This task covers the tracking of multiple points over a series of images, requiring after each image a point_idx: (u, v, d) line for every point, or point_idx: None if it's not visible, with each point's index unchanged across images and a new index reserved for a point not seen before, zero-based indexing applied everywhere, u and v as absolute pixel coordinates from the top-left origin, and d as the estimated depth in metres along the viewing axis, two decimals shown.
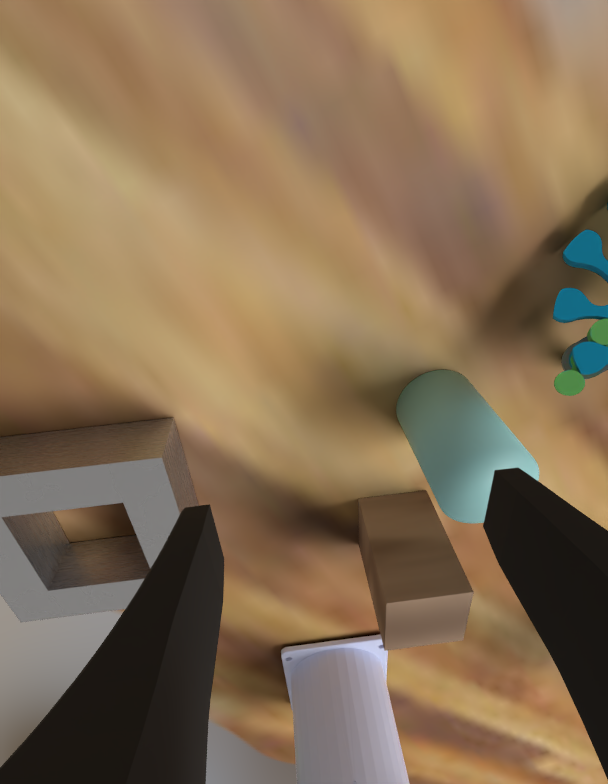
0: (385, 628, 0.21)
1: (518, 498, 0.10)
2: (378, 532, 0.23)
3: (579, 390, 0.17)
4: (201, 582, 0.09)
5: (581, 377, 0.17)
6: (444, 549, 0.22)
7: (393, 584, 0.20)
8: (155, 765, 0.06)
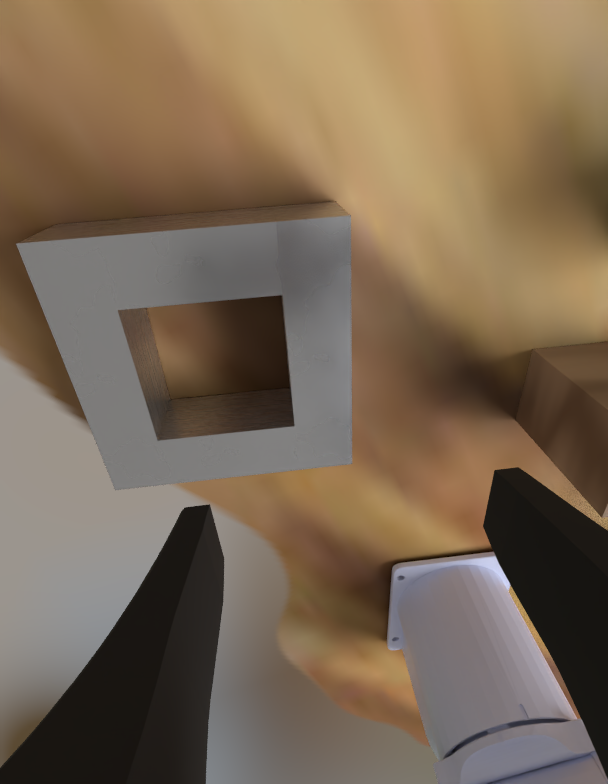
0: None
1: (518, 498, 0.10)
2: (579, 374, 0.18)
3: None
4: (201, 582, 0.09)
5: None
6: None
7: None
8: (155, 764, 0.06)
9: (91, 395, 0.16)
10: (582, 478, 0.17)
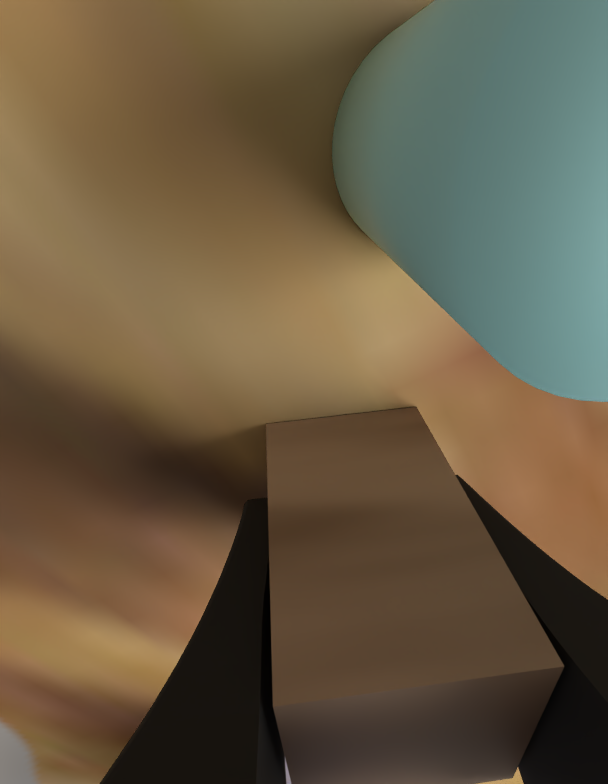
0: (288, 764, 0.07)
1: None
2: (295, 490, 0.09)
3: None
4: None
5: None
6: (462, 531, 0.08)
7: (307, 635, 0.07)
8: (266, 748, 0.06)
9: None
10: None
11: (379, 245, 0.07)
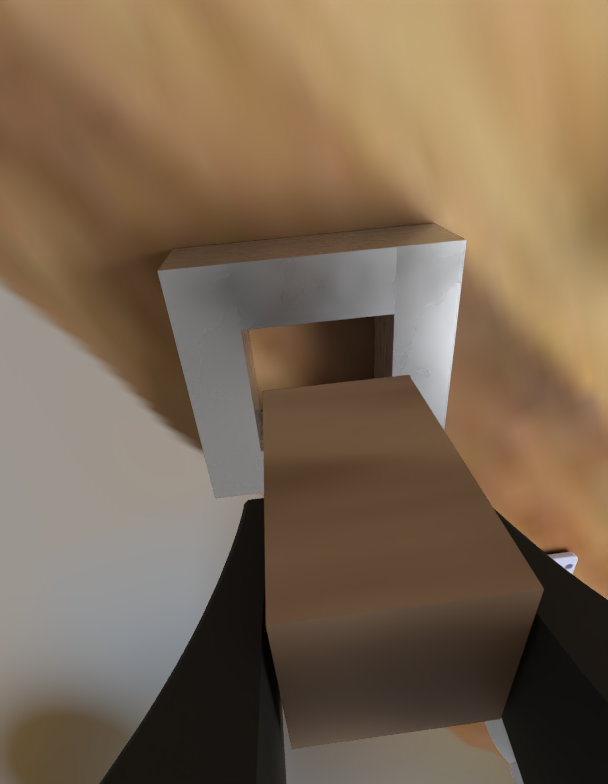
0: (282, 695, 0.07)
1: None
2: (290, 447, 0.09)
3: None
4: None
5: None
6: (450, 478, 0.08)
7: (300, 566, 0.07)
8: (266, 749, 0.06)
9: (205, 409, 0.16)
10: None
11: None
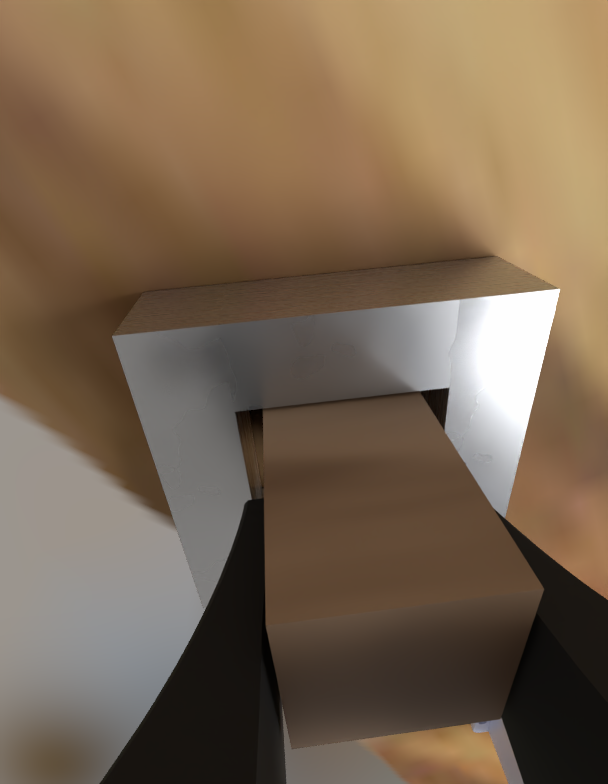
0: (282, 695, 0.07)
1: None
2: (290, 446, 0.09)
3: None
4: None
5: None
6: (450, 478, 0.08)
7: (300, 566, 0.07)
8: (266, 749, 0.06)
9: (188, 508, 0.12)
10: None
11: None
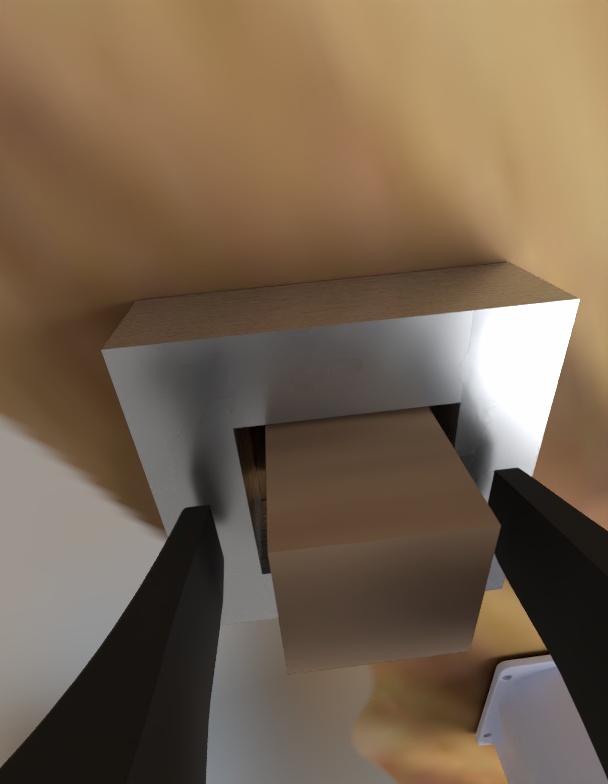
0: (280, 621, 0.08)
1: (518, 498, 0.10)
2: None
3: None
4: (201, 582, 0.09)
5: None
6: (428, 442, 0.09)
7: (296, 509, 0.08)
8: (156, 764, 0.06)
9: None
10: None
11: None
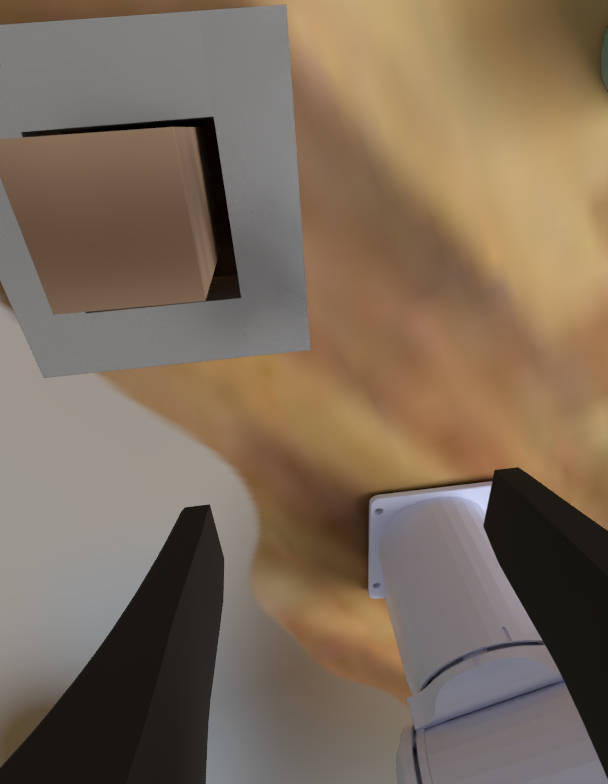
0: (26, 240, 0.10)
1: (518, 498, 0.10)
2: None
3: None
4: (201, 582, 0.09)
5: None
6: None
7: None
8: (155, 764, 0.06)
9: (3, 249, 0.14)
10: None
11: None
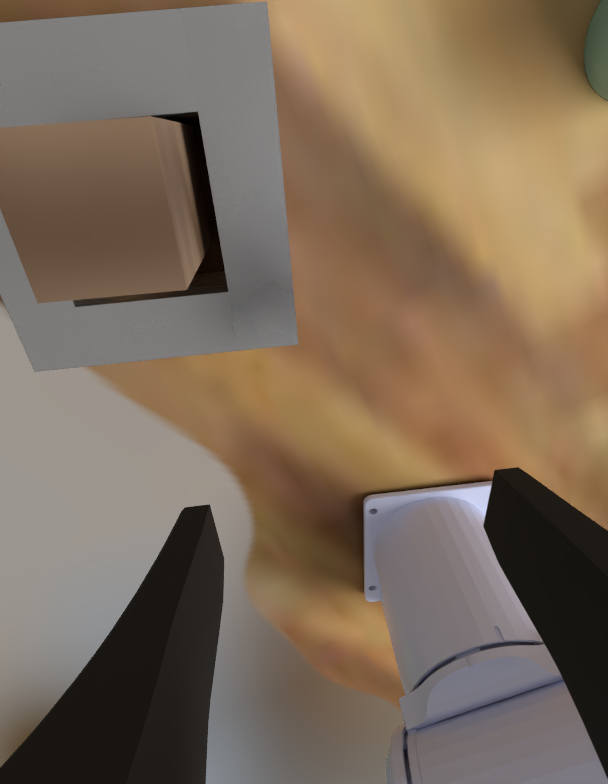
0: (10, 229, 0.11)
1: (518, 498, 0.10)
2: None
3: None
4: (201, 582, 0.09)
5: None
6: None
7: None
8: (155, 764, 0.06)
9: None
10: None
11: None
